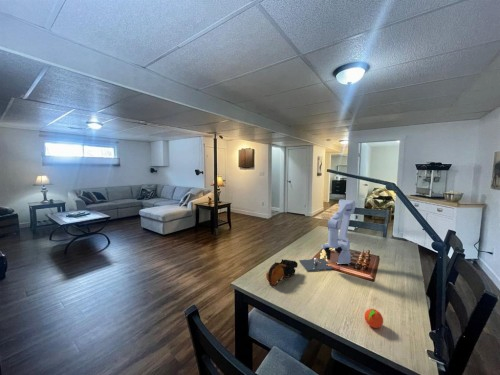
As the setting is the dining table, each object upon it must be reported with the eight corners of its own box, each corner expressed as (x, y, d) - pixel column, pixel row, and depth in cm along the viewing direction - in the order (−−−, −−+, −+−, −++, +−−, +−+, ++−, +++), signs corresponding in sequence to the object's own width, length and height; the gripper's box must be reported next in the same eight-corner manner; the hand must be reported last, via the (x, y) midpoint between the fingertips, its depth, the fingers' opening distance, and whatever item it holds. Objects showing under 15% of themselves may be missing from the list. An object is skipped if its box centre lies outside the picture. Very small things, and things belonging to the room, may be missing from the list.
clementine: (376, 336, 86) (378, 319, 85) (359, 325, 91) (360, 310, 91) (385, 327, 90) (386, 311, 90) (368, 317, 96) (369, 302, 95)
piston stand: (323, 259, 153) (323, 253, 152) (333, 269, 139) (333, 262, 138) (299, 261, 150) (299, 254, 150) (307, 271, 136) (307, 264, 136)
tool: (294, 287, 131) (301, 263, 133) (272, 287, 116) (279, 260, 118) (284, 281, 137) (290, 258, 139) (261, 281, 122) (268, 255, 124)
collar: (333, 258, 139) (334, 250, 138) (338, 262, 134) (338, 253, 133) (326, 259, 138) (327, 250, 137) (330, 262, 133) (331, 253, 132)
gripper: (325, 241, 129) (324, 262, 131) (347, 239, 131) (346, 260, 133) (320, 237, 136) (319, 257, 138) (341, 235, 138) (340, 255, 140)
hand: (332, 258), depth 136 cm, fingers closed on collar, 5 cm apart
